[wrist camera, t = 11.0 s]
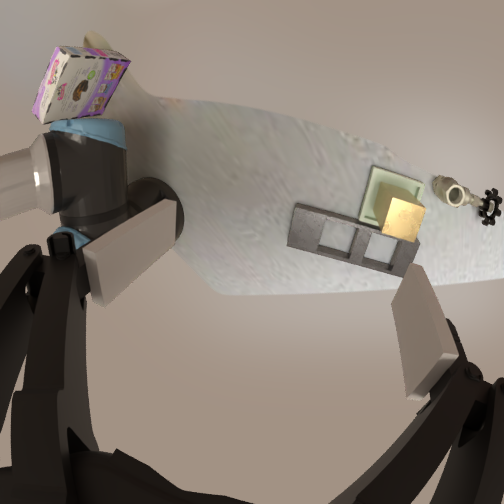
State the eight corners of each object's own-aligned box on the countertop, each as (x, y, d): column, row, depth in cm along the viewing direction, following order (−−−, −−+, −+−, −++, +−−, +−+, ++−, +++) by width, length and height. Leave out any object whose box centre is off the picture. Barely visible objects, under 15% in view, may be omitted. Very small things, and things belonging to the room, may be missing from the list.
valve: (426, 200, 40) (478, 219, 38) (438, 212, 34) (494, 233, 32) (435, 163, 37) (488, 185, 35) (450, 170, 31) (506, 195, 29)
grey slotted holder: (288, 240, 50) (286, 246, 48) (297, 203, 47) (295, 207, 45) (402, 271, 46) (405, 278, 44) (416, 237, 43) (420, 243, 41)
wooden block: (372, 209, 43) (381, 232, 34) (380, 181, 41) (392, 197, 32) (399, 218, 42) (414, 242, 33) (408, 190, 40) (426, 208, 31)
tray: (358, 216, 45) (358, 220, 43) (372, 165, 40) (373, 167, 39) (405, 231, 43) (408, 235, 42) (421, 181, 39) (425, 184, 37)
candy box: (116, 50, 41) (56, 43, 27) (132, 61, 42) (70, 54, 28) (88, 103, 48) (29, 111, 34) (102, 116, 49) (41, 126, 35)
